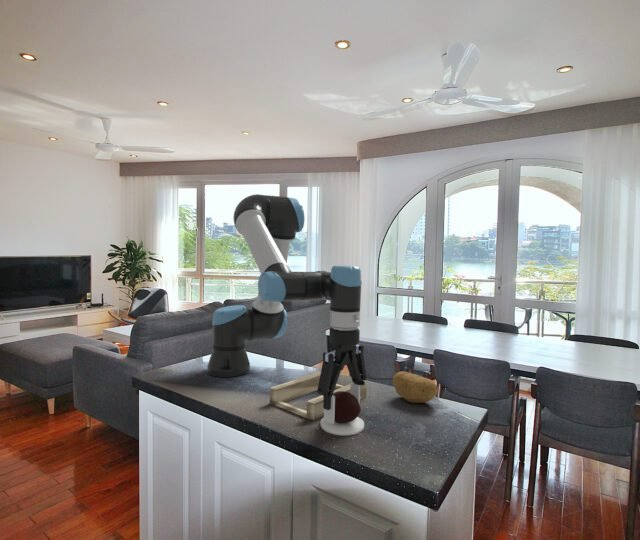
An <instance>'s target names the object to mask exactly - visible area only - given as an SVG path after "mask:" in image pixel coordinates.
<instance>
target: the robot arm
mask: <svg viewBox="0 0 640 540" xmlns="http://www.w3.org/2000/svg"><path fill="white" fill-rule="evenodd" d="M305 217H306V216H305V211H304V208H303V205H302V203H301V201H300V200H299V199H297V198H295V197H294V198H293V197H289V196H281V195H280V196H278V195H267V194H265V195H264V194H258V193H257V194H250V195H249V196H246V197H244V198H243V199H242V200H240V201H239V203H238V204H237V206H236V207H235V209H234V212H233V217H232V219H233V223H234V227H235V229H236V231H237V232H238V234H240V235H241V236H242V237H243V238H244V241H245V242H246V244H247V245H246V246H248V249H249V251H250V253H251V255H252V258H253V260H254V262H255V264H256V267H257V269H258V271H259V272H260V275H259V277H258V281H257V289H258V292H257V298H256V299H255V300H253V302H252V304H251V308H247V307H246V306H245V305H243V304H239V305H238V304H236V305H227V306H224V307H220V308H219V307H218V308H217V309H216V310H215V311H214V312H213V315H212V323H211V324H212V351H211V354H210V357H209V360H208V364H207V367H206V368H207V369H206V371H207V374H208V375H211V376H213V377H219V378H232V377H238V376H240V377H241V376H243V375H247V374H248V373H249V372H250V371H251V363H250V360H249V356H248V353H247V350H246V342H248V341H259V340H273V339H277V338H280V337H282V336H283V335H284V334H285V331H286V330H287V325H288V319H287V318H288V313H287V311H286V309H285V308H284V305H283V304H282V302H293V301H295V302H296V301H318V300H319V301H321V300H324V301H330V302H329V306H330V307H329V308H330V310H329V325H330V326H331V327H330V328H329V335H328V336H329V343H330V344H331V345H332V347H331V350H330V351H329V352H326V351H325V352H323V353H322V366H321V370H320V371H321V374H320V379H319V384H318V390H316V393H317V395H319V396H321V395H323V408H324V416H323V417H324V421H327V422H329V423H332V424H333V423H334V419H335V396H333V392H334V390H336V389H335V387H336V384H338V380H339V377H340V376H341V375H340V374H341V371H343V370H344V368H345V366H346V367H347V371H348V373H349V376H350V378H351V381H352V383H349V384H350V393H351V394H352V395H354V396H355V397H356V398H357V399H358V401H359V404H360V405H361V399H360V395H361V385H364V384H365V382H366V381H367V372H366V363H365V357H364V345H362V344H359V343H360V338H361V337H360V334H361V333H360V332H361V331H360V329H359V327H360V324H361V317H360V316H361V301H362V299H361V296H362V295H361V294H362V277H361V276H362V275H361V274H362V271H361V268H360V267H359V266H357V265H333V266H332V267H331V269H330V271H326V270H316V271H292V270H291V269H290V267H289V265H288V257H289V249H290V245H291V242H293V241H294V240H295V239H296V234H297V233H300V232H302V231H303V229H304V226H305V221H306V220H305ZM353 383H354V384H353Z"/></svg>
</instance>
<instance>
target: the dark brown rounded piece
mask: <svg viewBox="0 0 640 540" xmlns="http://www.w3.org/2000/svg"><path fill="white" fill-rule="evenodd" d="M333 396H335V419H334V422H337V423H348V422H351V421H353V420H354V419H356V418H357V417H359V415H360V414H361V411H362V410H361V403H360V404H359V401H358V399H357V398H356V397H355V396H354V395H352V394H351V393H349V392H344V391H338V392H335V393H333Z"/></svg>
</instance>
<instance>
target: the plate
mask: <svg viewBox="0 0 640 540" xmlns="http://www.w3.org/2000/svg"><path fill="white" fill-rule="evenodd" d="M320 428H321V429H322V430H323V431H324V432H325V433H328V434H331V435H336V436H339V437H340V436H342V437H343V436H344V437H345V436H354V435H357V434H358V435H359V434H360V433H361V432H362V431H364V429H365V422H364V420H363V419H362V418H361V417H359V416H357V418H356V419H354V420H353V421H351V422H348V423H337V422H334V423H333V424H332V423H329V422H327V421H324V416H323V417H321V418H320Z"/></svg>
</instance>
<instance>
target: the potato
mask: <svg viewBox="0 0 640 540" xmlns="http://www.w3.org/2000/svg"><path fill="white" fill-rule="evenodd" d="M392 377H393V378H392V385H393V387H394V388H395V392H396V393H397V394H398V396H400V397H401V398H403V399H404V400H405V401H407V402H409V403H411V404H413V403H414V404H415V403H417V404H418V403H424V404H426V403H428V402H429V401H431V400H433V399H434V398H435V397H437V395H438V393H439V387H438V385H437V384H436V383H435V382H434V381H433V380H431V379H429V378H427V377H425V376H421V375H419V374H416V373H412V372H408V371H398V372H397V373H395V374H394V375H393V376H392Z"/></svg>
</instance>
